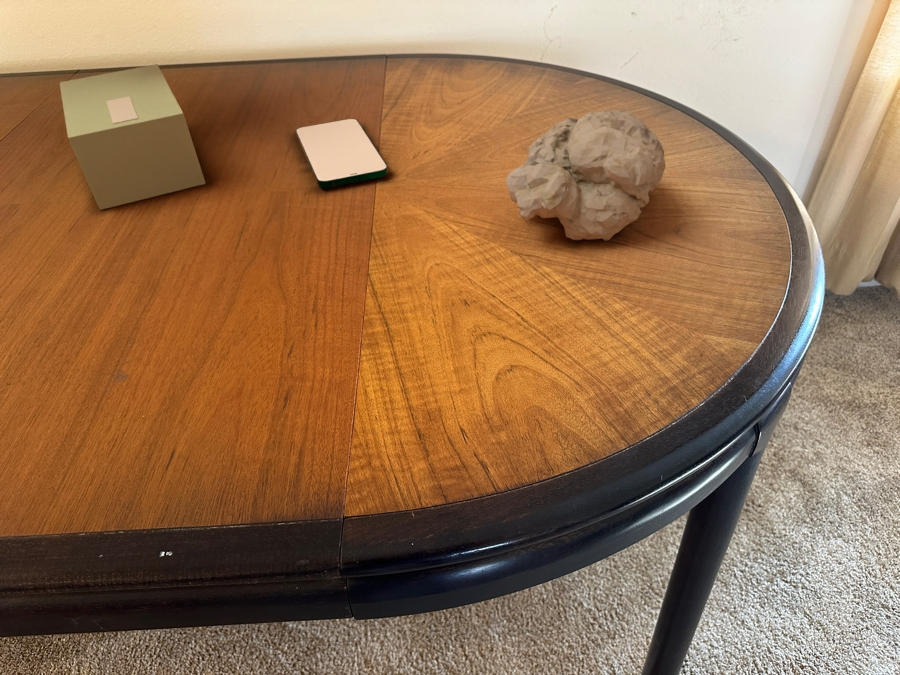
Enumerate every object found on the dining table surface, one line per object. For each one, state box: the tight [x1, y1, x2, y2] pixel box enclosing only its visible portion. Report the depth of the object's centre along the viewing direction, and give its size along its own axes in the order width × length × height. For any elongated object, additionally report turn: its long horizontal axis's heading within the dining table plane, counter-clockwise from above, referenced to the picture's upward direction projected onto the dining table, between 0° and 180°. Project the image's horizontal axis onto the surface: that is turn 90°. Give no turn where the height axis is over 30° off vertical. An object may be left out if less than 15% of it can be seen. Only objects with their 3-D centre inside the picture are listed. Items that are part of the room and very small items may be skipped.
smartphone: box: [295, 118, 389, 189], centre depth 75 cm, size 8×1×16 cm
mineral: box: [505, 109, 666, 242], centre depth 61 cm, size 12×17×10 cm
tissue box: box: [59, 64, 206, 211], centre depth 74 cm, size 18×11×8 cm, turn 27°
